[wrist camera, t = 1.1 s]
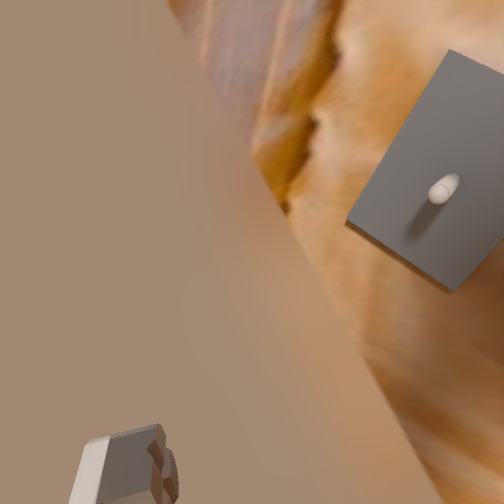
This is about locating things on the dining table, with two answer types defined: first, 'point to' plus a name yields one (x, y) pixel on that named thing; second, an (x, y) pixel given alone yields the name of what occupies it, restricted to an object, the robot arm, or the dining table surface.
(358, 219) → the shaft plate
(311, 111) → the dining table surface
